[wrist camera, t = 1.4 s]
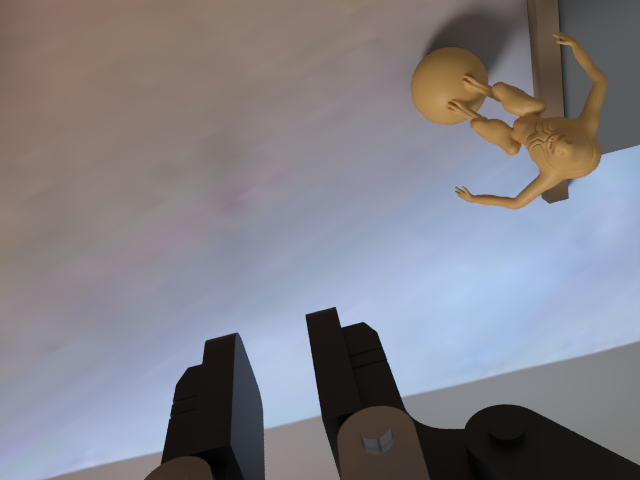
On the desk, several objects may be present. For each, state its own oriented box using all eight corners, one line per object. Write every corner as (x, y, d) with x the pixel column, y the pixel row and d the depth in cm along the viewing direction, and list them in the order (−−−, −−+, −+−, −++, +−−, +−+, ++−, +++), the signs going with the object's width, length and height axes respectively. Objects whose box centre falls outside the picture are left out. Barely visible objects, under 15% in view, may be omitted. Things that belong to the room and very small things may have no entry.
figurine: (449, -9, 30) (560, -7, 19) (536, 47, 32) (685, 78, 21) (370, 130, 33) (429, 201, 22) (455, 175, 34) (549, 262, 24)
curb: (520, -90, 29) (528, -93, 28) (543, -96, 29) (552, -99, 28) (541, 197, 36) (549, 203, 35) (560, 193, 36) (568, 198, 35)
